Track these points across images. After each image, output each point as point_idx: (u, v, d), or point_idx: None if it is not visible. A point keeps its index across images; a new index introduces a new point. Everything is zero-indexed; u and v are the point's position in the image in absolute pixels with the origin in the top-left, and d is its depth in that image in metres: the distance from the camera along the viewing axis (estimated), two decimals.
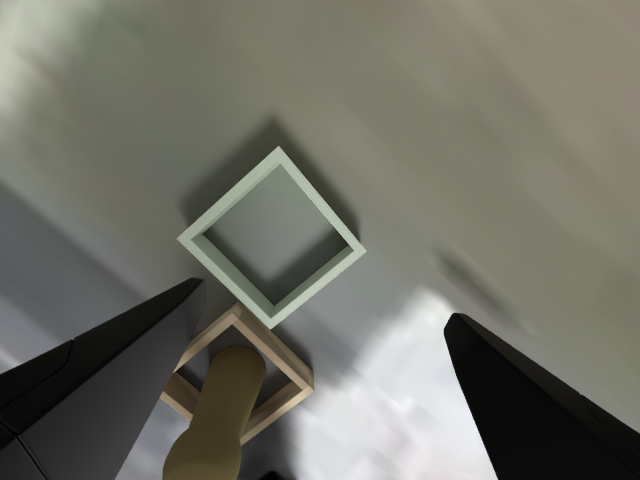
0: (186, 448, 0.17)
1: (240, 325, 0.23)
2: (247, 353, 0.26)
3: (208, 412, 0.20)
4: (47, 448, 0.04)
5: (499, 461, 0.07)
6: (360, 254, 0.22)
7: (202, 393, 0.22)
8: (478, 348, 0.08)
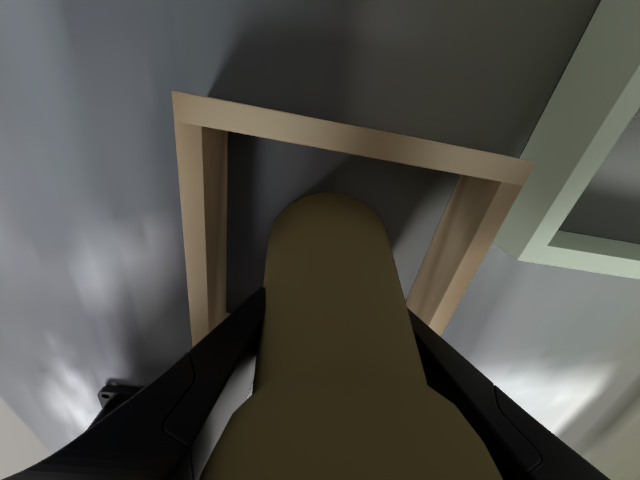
0: None
1: (504, 201, 0.09)
2: None
3: (403, 344, 0.05)
4: (198, 460, 0.04)
5: None
6: None
7: (337, 257, 0.07)
8: None
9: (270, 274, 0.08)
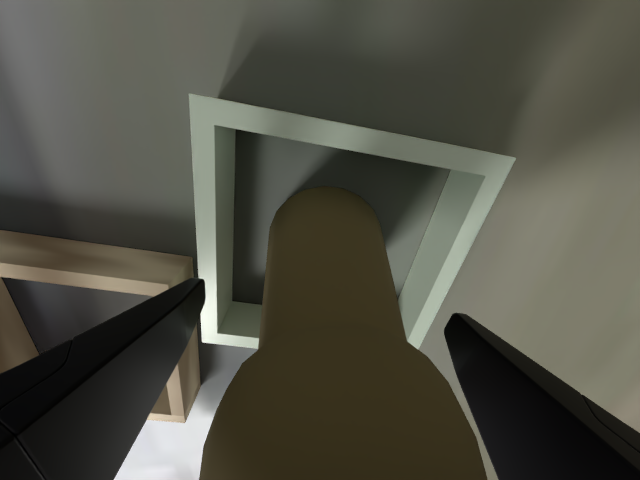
0: (451, 438, 0.04)
1: None
2: None
3: (388, 313, 0.06)
4: (45, 448, 0.04)
5: (500, 461, 0.07)
6: None
7: (333, 241, 0.08)
8: (478, 348, 0.08)
9: (272, 258, 0.09)
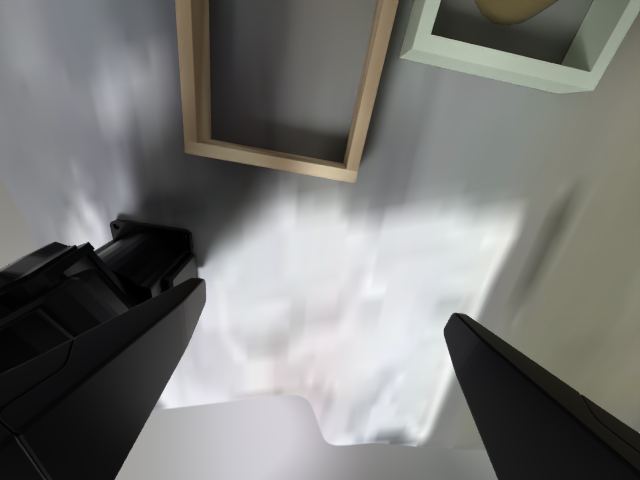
0: None
1: None
2: None
3: None
4: (47, 449, 0.04)
5: (500, 461, 0.07)
6: (586, 85, 0.15)
7: None
8: (478, 348, 0.08)
9: None
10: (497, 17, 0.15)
